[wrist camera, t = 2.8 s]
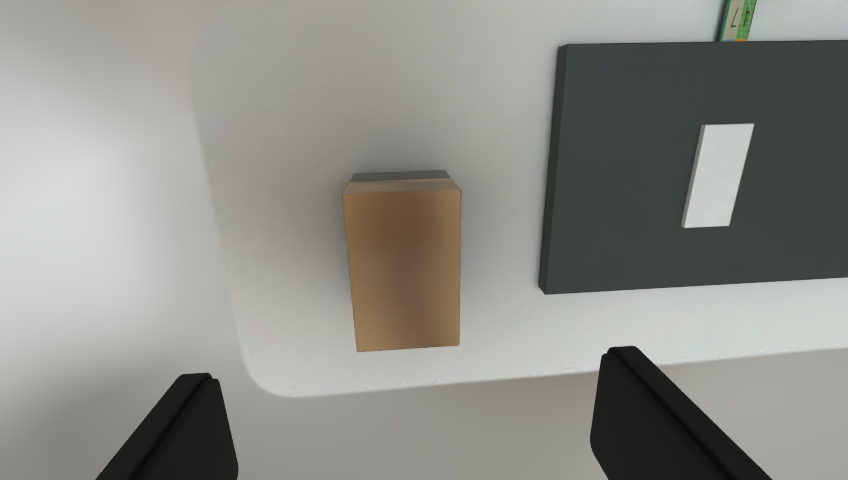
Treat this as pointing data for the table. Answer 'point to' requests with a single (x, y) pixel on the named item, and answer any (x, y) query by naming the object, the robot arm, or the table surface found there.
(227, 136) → the table surface
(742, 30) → the pencil
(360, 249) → the eraser
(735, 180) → the white rectangular block
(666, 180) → the board
